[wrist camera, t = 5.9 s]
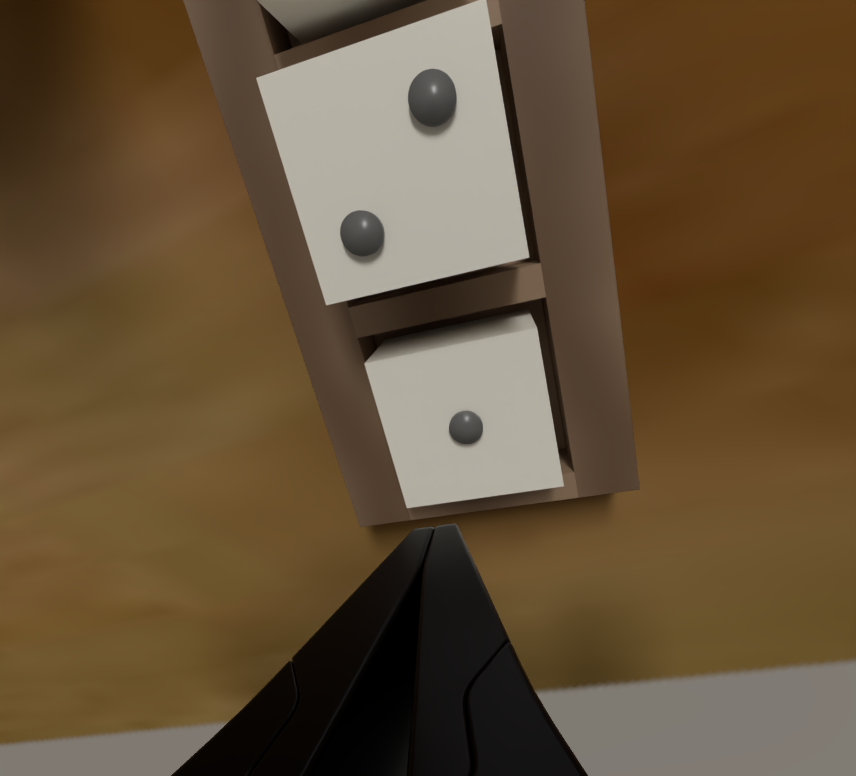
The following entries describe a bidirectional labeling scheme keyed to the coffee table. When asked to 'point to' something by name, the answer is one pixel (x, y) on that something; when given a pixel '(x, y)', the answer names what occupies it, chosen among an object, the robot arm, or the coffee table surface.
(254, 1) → the brown dotted block frame
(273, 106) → the two pip tile
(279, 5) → the three pip tile
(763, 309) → the coffee table surface
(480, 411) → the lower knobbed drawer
